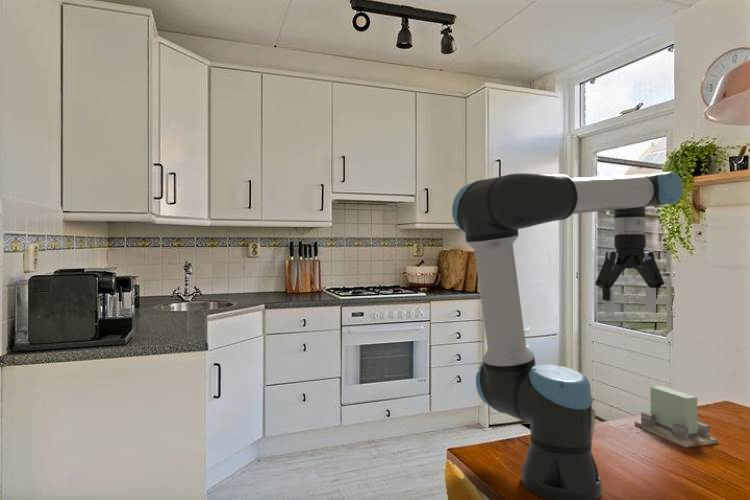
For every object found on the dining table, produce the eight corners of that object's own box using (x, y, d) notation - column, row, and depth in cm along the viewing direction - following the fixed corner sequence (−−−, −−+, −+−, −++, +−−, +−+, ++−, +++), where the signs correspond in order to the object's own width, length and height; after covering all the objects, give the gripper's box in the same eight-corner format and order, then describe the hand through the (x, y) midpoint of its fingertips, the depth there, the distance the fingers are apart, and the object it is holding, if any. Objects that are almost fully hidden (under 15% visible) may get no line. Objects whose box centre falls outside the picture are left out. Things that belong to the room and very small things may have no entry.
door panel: (686, 438, 120) (686, 398, 120) (650, 423, 131) (650, 386, 131) (697, 436, 121) (697, 397, 121) (661, 422, 132) (661, 385, 132)
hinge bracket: (685, 447, 117) (685, 431, 117) (634, 424, 132) (634, 410, 132) (717, 443, 119) (717, 427, 119) (663, 421, 135) (663, 407, 135)
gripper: (600, 232, 122) (601, 315, 122) (678, 233, 129) (679, 312, 128) (581, 233, 129) (581, 312, 129) (655, 234, 136) (656, 309, 136)
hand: (630, 312), depth 129 cm, fingers open, 13 cm apart
